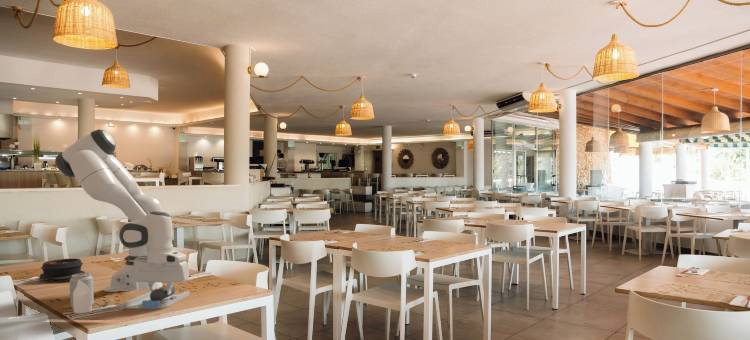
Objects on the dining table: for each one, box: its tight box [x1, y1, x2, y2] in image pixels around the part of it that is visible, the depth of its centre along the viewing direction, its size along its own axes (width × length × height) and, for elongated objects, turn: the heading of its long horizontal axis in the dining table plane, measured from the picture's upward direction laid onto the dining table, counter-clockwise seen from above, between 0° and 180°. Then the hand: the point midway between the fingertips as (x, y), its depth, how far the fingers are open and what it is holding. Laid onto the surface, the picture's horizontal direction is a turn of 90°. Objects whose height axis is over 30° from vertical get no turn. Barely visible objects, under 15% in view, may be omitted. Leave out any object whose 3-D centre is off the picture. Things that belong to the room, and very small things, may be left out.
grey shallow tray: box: [118, 290, 191, 310], centre depth 190 cm, size 16×20×3 cm
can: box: [69, 272, 95, 309], centre depth 188 cm, size 8×8×12 cm
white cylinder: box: [72, 280, 93, 314], centre depth 178 cm, size 6×12×6 cm
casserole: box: [38, 258, 86, 282], centre depth 243 cm, size 25×19×8 cm
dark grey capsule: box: [150, 285, 176, 301], centre depth 188 cm, size 10×4×4 cm, turn 172°
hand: (161, 294), depth 187 cm, fingers closed on dark grey capsule, 4 cm apart
